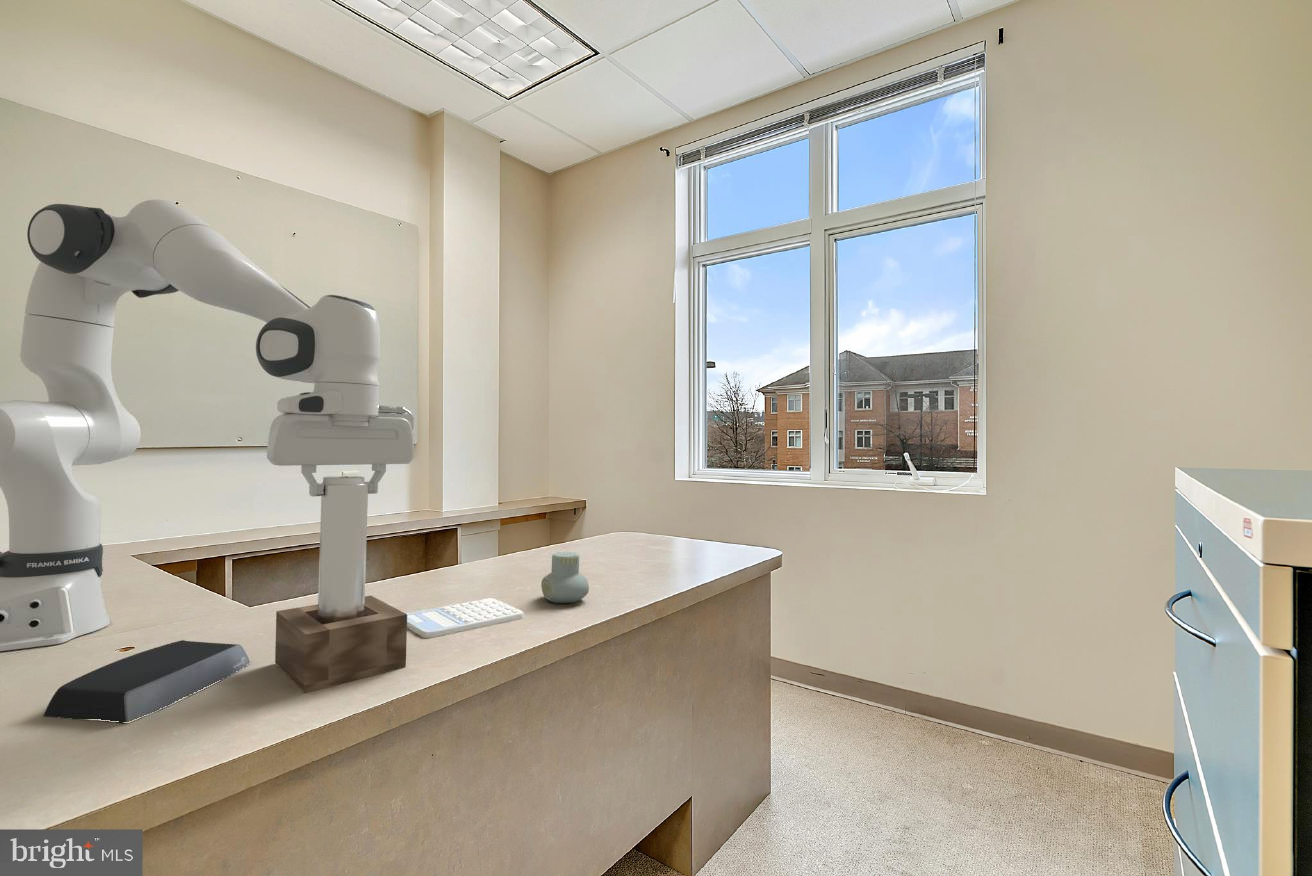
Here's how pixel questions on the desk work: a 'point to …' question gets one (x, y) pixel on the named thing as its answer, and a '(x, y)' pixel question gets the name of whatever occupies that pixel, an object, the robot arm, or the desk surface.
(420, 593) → the desk surface
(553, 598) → the air freshener
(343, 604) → the tall grey cylinder
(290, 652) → the socket block
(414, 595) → the desk surface
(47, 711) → the external hard drive
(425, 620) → the calculator
